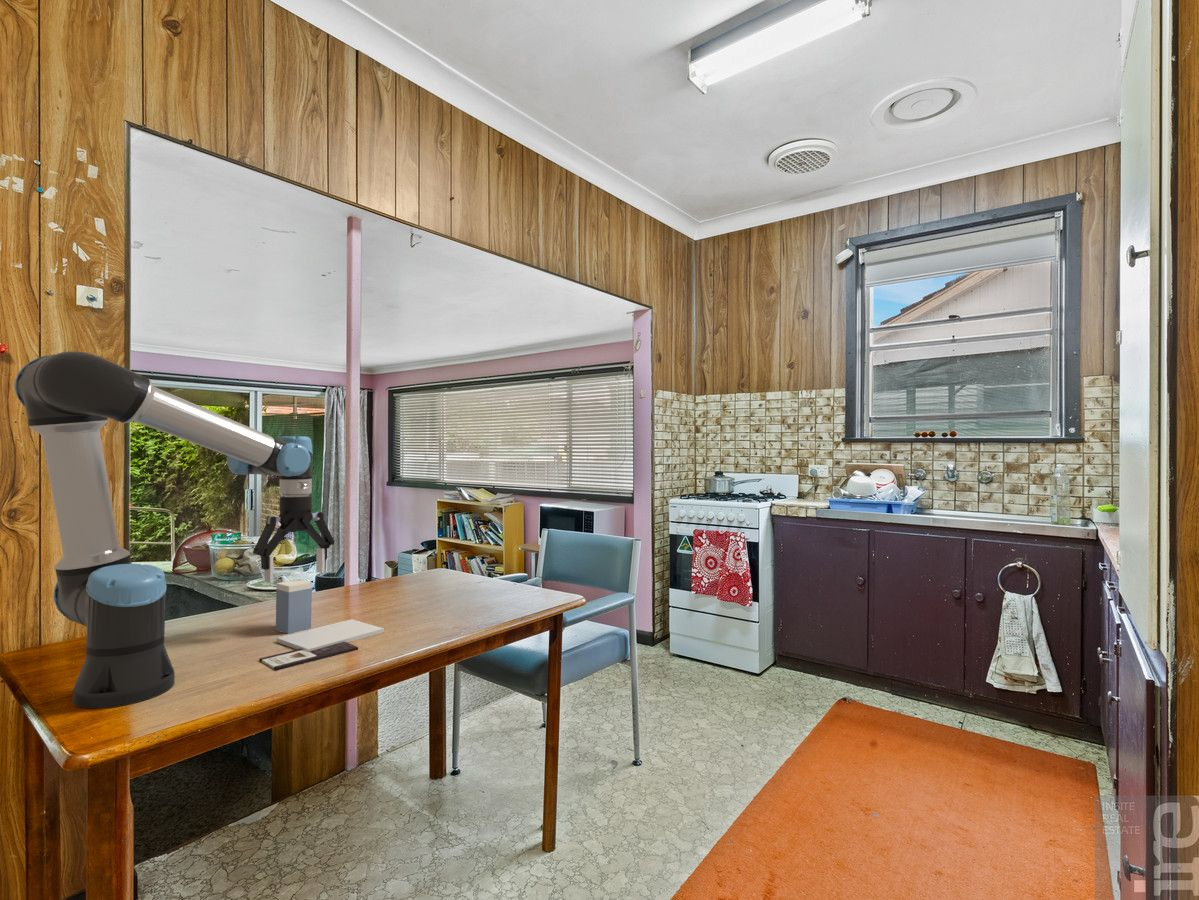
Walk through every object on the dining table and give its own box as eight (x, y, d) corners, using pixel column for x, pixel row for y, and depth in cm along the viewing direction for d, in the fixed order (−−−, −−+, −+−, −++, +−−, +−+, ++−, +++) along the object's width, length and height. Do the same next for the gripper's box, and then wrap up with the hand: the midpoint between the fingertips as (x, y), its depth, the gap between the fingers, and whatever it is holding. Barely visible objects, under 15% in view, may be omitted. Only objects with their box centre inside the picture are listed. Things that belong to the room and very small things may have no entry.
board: (308, 653, 135) (308, 649, 135) (276, 641, 143) (276, 637, 143) (383, 632, 152) (384, 628, 152) (351, 622, 160) (351, 619, 160)
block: (288, 634, 150) (288, 586, 150) (275, 629, 153) (276, 583, 153) (311, 628, 155) (311, 582, 155) (298, 624, 158) (299, 579, 158)
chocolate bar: (358, 647, 139) (276, 668, 125) (358, 651, 139) (276, 672, 125) (339, 639, 144) (259, 658, 131) (339, 643, 144) (259, 662, 131)
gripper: (253, 499, 141) (252, 588, 142) (348, 493, 162) (347, 570, 162) (237, 498, 146) (237, 584, 146) (332, 491, 166) (332, 567, 167)
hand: (295, 577), depth 154 cm, fingers open, 13 cm apart
